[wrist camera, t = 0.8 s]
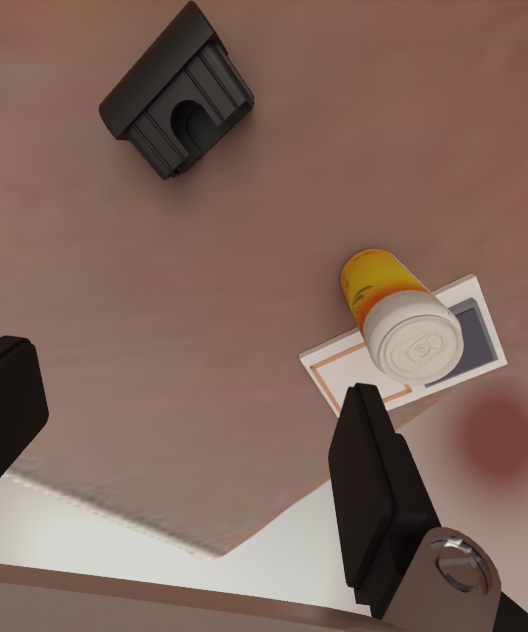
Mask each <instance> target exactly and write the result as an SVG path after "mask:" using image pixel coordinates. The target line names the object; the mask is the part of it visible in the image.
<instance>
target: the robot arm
mask: <svg viewBox="0 0 528 632" xmlns="http://www.w3.org/2000/svg"><path fill="white" fill-rule="evenodd" d="M48 417H49V411H48V406H47V402H46V397H45V392H44V387H43V382H42V377H41V372H40V367H39V362H38V357H37V353H36V348H35V346H34V345H33V344H31V342H30V341H29V339H27V338H22V337H15V336H2V337H0V477H1V476H2V475H3V474H4V473H5V471H6V470H7V469H8V468H9V467H10V466H11V464H12V463H13V462H14V461H15V460H16V459H17V457H18V456H19V455H20V454H21V453H22V452H23V450H24V449H25V448H26V447H27V446H28V445H29V443H30V442H31V441H32V440H33V439H34V438H35V436H36V435H37V434H38V433H39V432H40V431H41V429H42V428H43V427H44V426H45V424H46V423H47V421H48ZM328 462H329V469H330V476H331V483H332V490H333V497H334V503H335V511H336V517H337V524H338V531H339V537H340V545H341V552H342V558H343V565H344V572H345V579H346V583H347V585H348V587H352V588H354V594H355V599H356V604H363V605H370V610H371V615H372V617H373V618H372V617H369V616H366V615H361V614H357V613H352V612H347V611H342V610H337V609H332V608H327V607H321V606H314V605H307V604H301V603H294V602H288V601H281V600H274V599H268V598H261V597H255V596H247V595H239V594H232V593H223V592H216V591H209V590H201V589H194V588H186V587H178V586H170V585H163V584H156V583H148V582H140V581H132V580H125V579H116V578H109V577H101V576H93V575H85V574H77V573H69V572H61V571H53V570H45V569H37V568H29V567H21V566H13V565H5V564H0V632H528V613H527V612H526V611H524V610H523V609H522V608H521V607H520V606H519V605H517V604H516V603H515V602H514V601H513V600H511V599H510V598H509V597H508V596H507V595H505V594H504V593H503V592H502V591H501V580H500V577H499V574H498V571H497V569H496V567H495V565H494V564H493V562H492V560H491V559H490V557H489V556H488V555H487V554H486V553H485V551H484V550H483V549H482V548H481V547H480V546H479V545H478V544H477V543H476V542H474V541H473V540H472V539H470V538H469V537H468V536H466V535H464V534H463V533H461V532H459V531H456V530H454V529H451V528H448V527H442V526H441V524H440V522H439V519H438V517H437V514H436V512H435V510H434V507H433V505H432V502H431V500H430V498H429V495H428V493H427V491H426V488H425V486H424V483H423V481H422V479H421V476H420V474H419V471H418V469H417V467H416V464H415V462H414V460H413V457H412V455H411V452H410V450H409V448H408V445H407V443H406V440H405V439H404V437H403V436H402V435H401V434H398V433H395V431H394V428H393V426H392V423H391V420H390V418H389V415H388V413H387V410H386V408H385V405H384V403H383V400H382V398H381V395H380V393H379V390H378V388H377V386H376V385H372V384H365V383H355V385H354V387H348V389H347V392H346V395H345V399H344V402H343V406H342V409H341V412H340V416H339V419H338V422H337V426H336V429H335V432H334V436H333V439H332V442H331V446H330V449H329V456H328Z"/></svg>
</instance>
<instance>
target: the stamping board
mask: <svg viewBox="0 0 528 632" xmlns="http://www.w3.org/2000/svg"><path fill="white" fill-rule="evenodd" d="M431 293H432V294H433V295H434V296H435V297H436V298H437V299H438V300H439V301H440V302H441V303H442V304H443V305H444V306H445V307H447V308H448V309H449V310H450V311H451V312H452V313H453V314H454V316H455V317H456V318H457V320H458V321H459V323H460V326H461V329H462V338H463V343H464V348H463V353H462V356H461V358H460V360H459V362H458V364H457V365H456V366H455V367H454V369H453V370H452V371H450V372H449V373H448V374H447V375H445V376H444V377H442V378H441V379H439V380H436V381H434V382H431V383H428V384H423V385H406V384H402V383H399V382H396V381H395V380H393V379H391V378H390V377H389V376H388V375H386V374H384V373H383V372H381V371H380V370H379V369H378V368H377V367H376V366H375V365H374V363H373V361H372V359H371V357H370V354H369V352H368V349H367V347H366V345H365V342H364V340H363V337H362V335H361V333H360V330H359V328H358V327H356V328H354V329H352V330H350V331H347V332H345V333H343V334H341V335H339V336H337V337H335V338H333V339H331V340H328V341H326V342H324V343H322V344H320V345H318V346H316V347H314V348H311V349H309V350H307V351H305V352H303V353H301V354H299V359H300V361H301V362H302V364H303V365H304V367H305V368H306V370H307V371H308V373H309V374H310V376H311V377H312V379H313V380H314V382H315V383H316V385H317V386H318V388H319V390H320V391H321V393H322V394H323V396H324V397H325V399H326V400H327V402H328V403H329V405H330V406H331V408H332V409H333V411H334V412H335V414H336V415H337V417H338V418H339V416H340V412H341V409H342V406H343V402H344V399H345V395H346V392H347V389H348V387H354V385H355V383H365V384H372V385H376V386H377V388H378V390H379V393H380V395H381V398H382V400H383V403H384V405H385V408H386V410H387V411H388V410H391V409H393V408H396V407H398V406H401V405H404V404H406V403H409V402H411V401H414V400H416V399H419V398H422V397H424V396H427V395H429V394H432V393H434V392H437V391H439V390H442V389H445V388H447V387H450V386H452V385H455V384H457V383H460V382H463V381H465V380H468V379H470V378H473V377H475V376H478V375H481V374H483V373H486V372H488V371H491V370H493V369H496V368H498V367H501V366H504V365H506V364H507V361H506V358H505V355H504V353H503V350H502V347H501V344H500V341H499V339H498V336H497V333H496V330H495V328H494V325H493V322H492V319H491V317H490V314H489V311H488V308H487V306H486V303H485V300H484V297H483V294H482V292H481V289H480V286H479V283H478V281H477V278H476V276H474V275H473V274H468V275H466V276H464V277H462V278H460V279H458V280H456V281H454V282H451V283H449V284H447V285H445V286H443V287H441V288H439V289H437V290H434V291H432V292H431Z"/></svg>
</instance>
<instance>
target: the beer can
mask: <svg viewBox="0 0 528 632" xmlns="http://www.w3.org/2000/svg"><path fill="white" fill-rule="evenodd" d="M341 287H342V290H343V292H344V294H345V297H346V299H347V302H348V304H349V306H350V309H351V311H352V313H353V316H354V318H355V321H356V323H357V325H358V328H359V330H360V333H361V335H362V337H363V340H364V342H365V345H366V347H367V349H368V352H369V354H370V357H371V359H372V361H373V363H374V365H375V366H376V367H377V368H378V369H379V370H380V371H381V372H383V373H384V374H386V375H388V376H389V377H390V378H391V379H393V380H395V381H396V382H399V383H402V384H406V385H423V384H428V383H431V382H434V381H436V380H439V379H441V378H442V377H444V376H445V375H447V374H448V373H449V372H450V371H452V370H453V369H454V367H455V366H456V365H457V364H458V362H459V360H460V358H461V356H462V353H463V348H464V343H463V338H462V329H461V326H460V323H459V321H458V320H457V318H456V317H455V316H454V314H453V313H452V312H451V311H450V310H449V309H448V308H447V307H445V306H444V305H443V304H442V303H441V302H440V301H439V300H438V299H437V298H436V297H435V296H434V295H433V294H432V293H431V292H430V291H429V290H428V289H427V288H426V287H425V286H424V285H423V284H422V283H421V282H420V281H419V280H418V279H417V278H416V277H415V276H414V275H413V274H412V273H411V272H410V271H409V270H408V269H407V268H406V267H405V266H404V265H403V264H402V263H401V262H400V261H399V260H398V259H397V258H396V257H395V256H393V255H392V254H391V253H389V252H387V251H385V250H382V249H367V250H364V251H361V252H359V253H357V254H356V255H354V256H353V257H352V258H351V259H349V261H348V262H347V263H346V265H345V266H344V268H343V270H342V274H341Z"/></svg>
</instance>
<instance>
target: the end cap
mask: <svg viewBox="0 0 528 632" xmlns="http://www.w3.org/2000/svg"><path fill="white" fill-rule="evenodd" d="M227 55H228V52H227V51H226V49H225V47H224V45H223V44H222V42H221V40H220V38H219V37H218V35H217V33H216V32H215V30H214V29H213V27H212V26H211V24H210V23H209V21H208V20H207V19H206V17H205V16H204V14H203V13H202V11H201V10H200V9H199V7H198V6H197V4H196V3H195V2H194V1H189V2H188V3H187V4H186V5H185V7H184V8H183V9H182V10H181V11H180V12H179V14H178V15H177V16H176V17H175V18H174V19H173V21H172V22H171V23H170V24H169V25H168V26H167V27H166V29H165V30H164V31H163V32H162V33H161V34H160V36H159V37H158V38H157V39H156V40H155V41H154V43H153V44H152V45H151V46H150V47H149V48H148V49H147V51H146V52H145V53H144V54H143V55H142V56H141V58H140V59H139V60H138V61H137V62H136V63H135V65H134V66H133V67H132V68H131V69H130V70H129V71H128V73H127V74H126V75H125V76H124V77H123V78H122V80H121V81H120V82H119V83H118V84H117V85H116V87H115V88H114V89H113V90H112V91H111V92H110V94H109V95H108V96H107V97H106V98H105V99H104V100H103V102H102V103H101V104H100V105H99V113H100V116H101V118H102V120H103V122H104V124H105V125H106V127H107V128H108V130H109V131H110V133H111V134H112V135H113V136H114V137H115V139H116V140H129V141H131V143H132V144H133V145H134V146H135V147H136V149H137V150H138V151H139V152H140V153H141V154H142V156H143V157H144V158H145V159H146V160H147V162H148V163H149V164H150V165H151V166H152V167H153V169H154V170H155V171H156V172H157V173H158V175H159V176H160V177H161V178H162V179H163V180H167V179H169V178H170V177H173V178H174V177H177V176H179V175H180V174H181V173H184V172H186V171H187V170H188V169H189V168H190V167H191V166H192V165H193V164H194V163H195V162H197V161H198V160H199V159H200V158H201V157H202V156H203V155H204V154H205V153H206V152H207V151H208V150H209V149H210V148H211V147H212V146H213V145H215V144H216V143H217V142H218V141H219V140H220V139H221V138H222V137H223V136H224V135H225V134H226V133H227V132H228V131H229V130H230V129H231V128H233V127H234V126H235V125H236V124H237V123H238V122H239V121H240V120H241V119H242V118H243V117H244V116H245V115H246V114H247V113H248V112H249V111H250V110H251V109H252V108H253V105H254V96H253V94H252V92H251V90H250V89H249V88H248V86H247V85H246V83H245V82H244V80H243V79H242V77H241V76H240V74H239V73H238V71H237V70H236V69H235V67H234V66H233V64H232V63H231V61H230V60H229V58H228V57H227Z"/></svg>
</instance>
